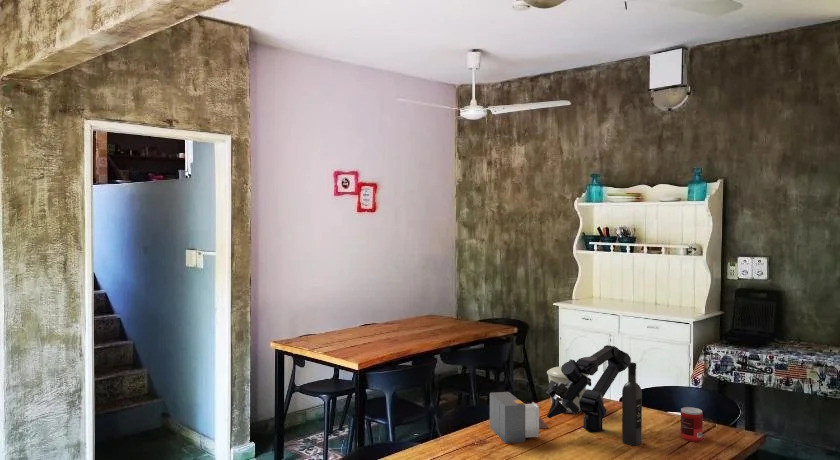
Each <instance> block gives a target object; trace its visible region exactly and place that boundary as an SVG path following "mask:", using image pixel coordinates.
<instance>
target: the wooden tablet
mask: <svg viewBox="0 0 840 460" xmlns="http://www.w3.org/2000/svg"><path fill="white" fill-rule="evenodd" d="M548 429H549V426H548V424H546V422H545V421H544V420H543V419H542V417H540V416H539V430H548Z"/></svg>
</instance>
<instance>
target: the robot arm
mask: <svg viewBox="0 0 840 460" xmlns="http://www.w3.org/2000/svg"><path fill="white" fill-rule="evenodd" d="M605 362H607V366H606V368H605V369H604V371H603V373H601V375H600V377H599V378H598V380H597V381H596V383H595V385H594V387H593V388H592V389H589V388H587V386H588V387H591V386H592V379H591V378H590V377H588V376H594V375H596V373H597V372H598V371H599V367H600V366H601V365H603V364H605ZM629 362H632V358H631V356H630V354H629V353H627V352H625V351H623V350H621V349H619V348H618V347H616V346H614V345H608V344H607V345H604V346H603V347H602V348H601V349H600V350H598V351H597V352H595V353H593V354H592V355H590V356H585V357H584V356H583V357H580V358H578V359H577V360H574V359H571V358H570V359H569V360H568V361H566V363H565V362H564V363H565V364H564V363H563V364H562V365H561V366H560V367H561V371H562V373H563V374H564V375H565V376H566V378H567V379H568V380H569V383H568V384H567V383H564V384H563V383H561V382H559V383H557V382H555V381H552V380H551V381H550V383H548V385H547V388H548V390H546V394H548V395H549V396H550V400H551V399H552V402H551V405H550V408H549V410H548V411H547V414H546V417H547V418H548V419H552V418H554V417H556V416H559V415H561V414H564V413H566V412H568V408H569V409H570V410H571V411H572V413H571V414H573V415H575V416H576V415H577V414H579V412H581V414H584V417H583V425H582V428H583V429H584V430H586V431H587V432H588V433H595V432H596V433H597V432H600V433H601V432H605V429H604V428H603V418H605V416H606V415H607V408H606V406H605V405H604V403H605V402H604V401H605V400H604V398H605V395H606V394H607V391H609V389H610V387H611V385H612V384H613V383H614V381H615V379H616V378H617V376H618V375H619V373H621V372H623V371H625V370H627V369H628V363H629ZM584 374H586V375H588V376H587V377H586V376H585V375H584ZM585 387H586V390H585V392H584V393H583V395H581V396H582V397H581V399H580V401H579V404H580V409H581V411H579V407H578V406H577V405H576V404H575V403H574V402H573V400H574V399H575V398H576V397H580V395H579V394H580V392H581V391H582V390H583V389H584V388H585Z"/></svg>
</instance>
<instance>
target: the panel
mask: <svg viewBox="0 0 840 460" xmlns="http://www.w3.org/2000/svg"><path fill="white" fill-rule="evenodd" d="M524 404H525V439H526V438H539V437H540V429H539V417H540V405H538V404H537V403H536V402H534V401H531V403H524Z"/></svg>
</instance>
